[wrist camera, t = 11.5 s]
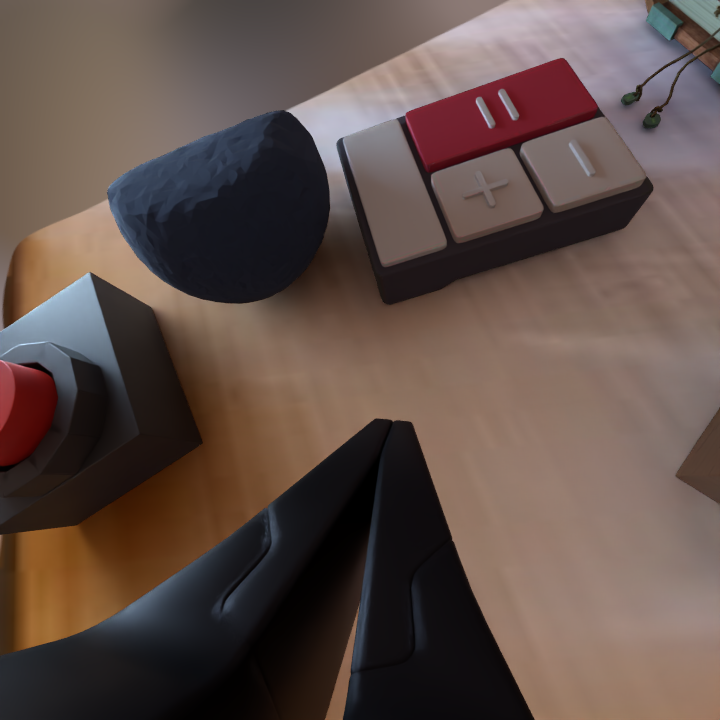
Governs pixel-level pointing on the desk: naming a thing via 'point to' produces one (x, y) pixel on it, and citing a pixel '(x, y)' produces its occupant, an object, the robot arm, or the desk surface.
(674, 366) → the desk surface
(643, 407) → the desk surface
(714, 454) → the tan control box
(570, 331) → the desk surface
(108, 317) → the grey button base
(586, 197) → the calculator
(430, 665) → the robot arm
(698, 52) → the decorative book
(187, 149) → the decorative stone
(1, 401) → the red button
